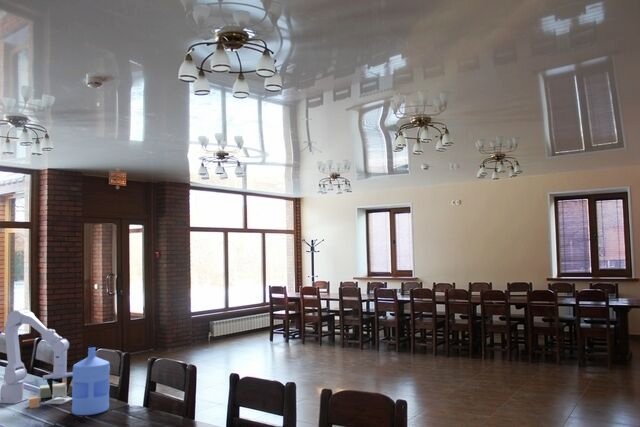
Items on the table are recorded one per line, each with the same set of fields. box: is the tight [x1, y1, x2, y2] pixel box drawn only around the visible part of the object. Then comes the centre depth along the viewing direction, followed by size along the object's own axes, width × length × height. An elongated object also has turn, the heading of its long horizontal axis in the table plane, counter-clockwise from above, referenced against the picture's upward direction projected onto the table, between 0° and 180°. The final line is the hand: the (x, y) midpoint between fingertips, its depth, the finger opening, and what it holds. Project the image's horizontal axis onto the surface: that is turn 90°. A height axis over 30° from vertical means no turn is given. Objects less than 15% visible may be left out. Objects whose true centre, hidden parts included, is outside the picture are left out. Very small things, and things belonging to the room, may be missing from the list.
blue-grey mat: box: [44, 396, 72, 405], centre depth 255 cm, size 9×9×1 cm
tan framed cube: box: [51, 382, 68, 400], centre depth 255 cm, size 6×6×6 cm
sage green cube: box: [38, 384, 52, 402], centre depth 260 cm, size 6×6×6 cm
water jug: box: [70, 346, 111, 416], centre depth 239 cm, size 16×16×28 cm
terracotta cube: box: [28, 396, 40, 409], centre depth 246 cm, size 4×4×4 cm
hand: (59, 393), depth 255 cm, fingers closed on tan framed cube, 6 cm apart
